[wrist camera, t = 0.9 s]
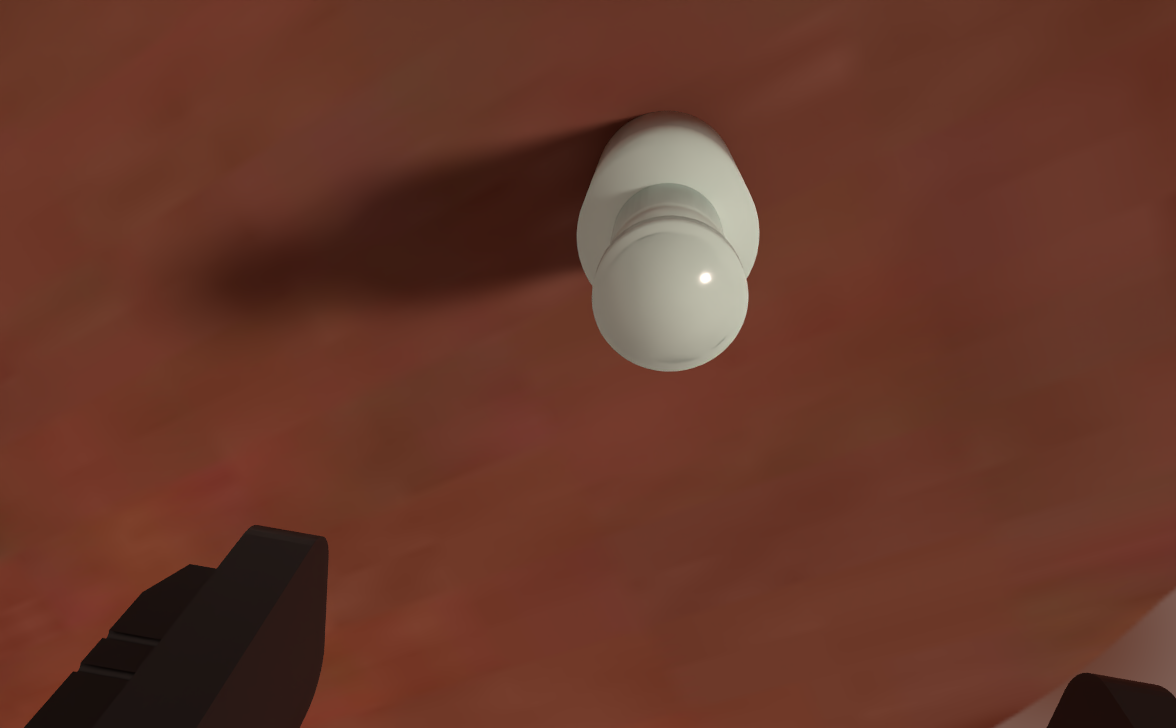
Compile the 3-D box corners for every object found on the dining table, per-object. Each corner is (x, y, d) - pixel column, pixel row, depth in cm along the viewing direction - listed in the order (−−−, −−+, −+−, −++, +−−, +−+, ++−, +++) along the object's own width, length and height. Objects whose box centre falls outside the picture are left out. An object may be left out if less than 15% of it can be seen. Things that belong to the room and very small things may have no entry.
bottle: (749, 123, 34) (812, 206, 20) (718, 260, 36) (756, 420, 22) (607, 99, 34) (573, 165, 20) (586, 237, 36) (541, 383, 22)
